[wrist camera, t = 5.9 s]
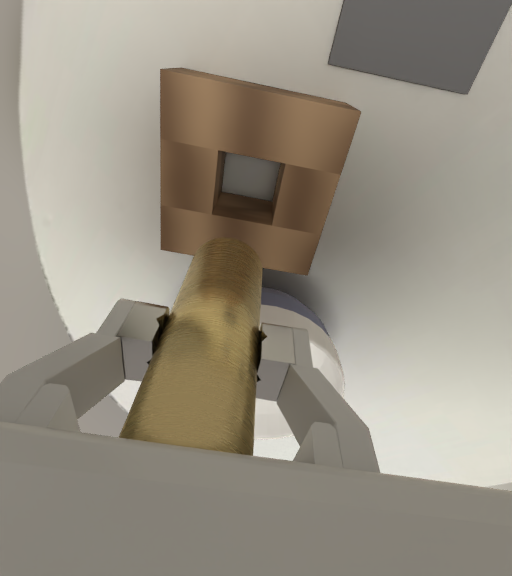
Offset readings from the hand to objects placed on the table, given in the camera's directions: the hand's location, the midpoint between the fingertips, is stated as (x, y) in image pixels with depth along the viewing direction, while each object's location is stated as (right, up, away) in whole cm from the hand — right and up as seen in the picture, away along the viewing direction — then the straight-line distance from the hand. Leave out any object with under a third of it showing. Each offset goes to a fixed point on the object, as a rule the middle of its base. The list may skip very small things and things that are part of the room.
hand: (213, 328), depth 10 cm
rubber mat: (+12, +19, +9) cm, 24 cm away
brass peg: (0, +2, +3) cm, 4 cm away
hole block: (+1, +11, +16) cm, 19 cm away
